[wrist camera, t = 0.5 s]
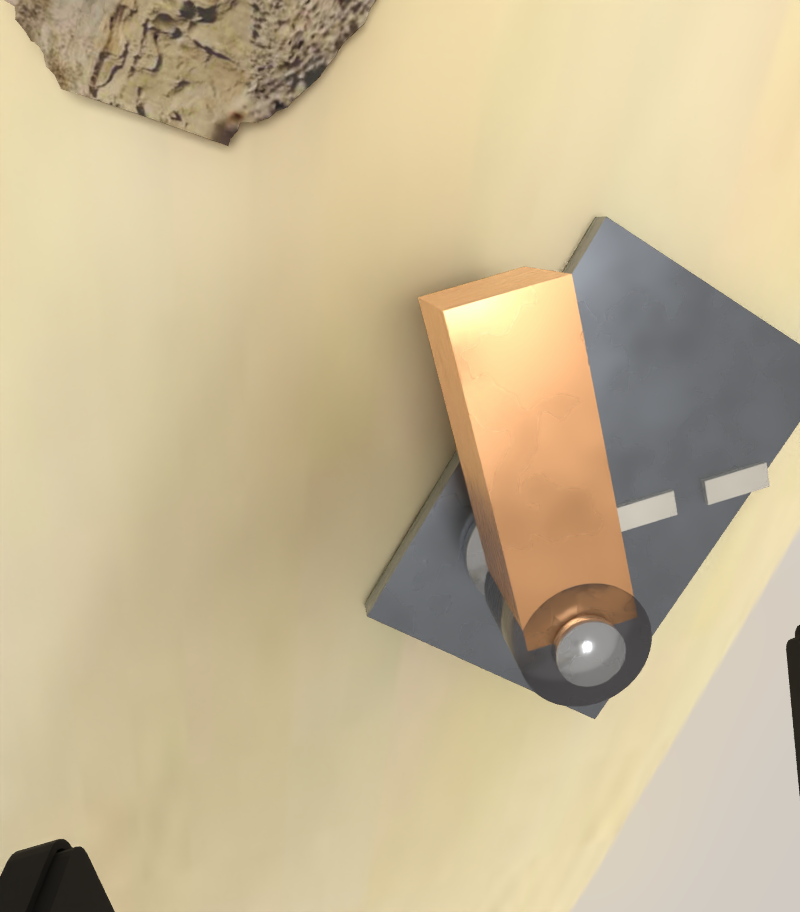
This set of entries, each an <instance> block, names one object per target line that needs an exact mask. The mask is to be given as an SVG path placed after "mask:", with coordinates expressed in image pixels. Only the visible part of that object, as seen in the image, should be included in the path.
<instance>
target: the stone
mask: <svg viewBox="0 0 800 912" xmlns="http://www.w3.org/2000/svg"><path fill="white" fill-rule="evenodd" d="M5 1H6V2H8V3H10V4H12V5H14V6H15V11H16V18H15V20H16V21H17V22H18V23H19V24H20V25H21V26H22V28H23V29H24V30H25V31H26V33H27V35H28V36H29V38H30V40H31V41H32V42H35V43H36V44H37V45H38V46H39V47H40V48H41V50H42V51H43V53H44V57H45V62H46V66H47V67H48V68H49V69H50V71H51V72H52V73H53V74H54V75H55V76H56V78H57V81H58V83H59V85H60V87H61V89H64V90H67V91H70V92H74V93H77V94H80V95H83V96H86V97H89V98H92V99H95V100H98V101H101V102H104V103H107V104H110V105H113V106H116V107H119V108H122V109H125V110H128V111H131V112H134V113H137V114H140V115H143V116H145V117H148V118H151V119H154V120H157V121H160V122H162V123H165V124H168V125H171V126H174V127H176V128H179V129H182V130H185V131H188V132H191V133H193V134H196V135H199V136H202V137H205V138H207V139H210V140H213V141H216V142H219V143H222V144H224V145H227V146H228V145H229V142H230V139H231V138H232V136H233V135H234V134H235V133H236V132H237V131H238V128H239V125H240V122H254V123H255V122H258V121H261V120H264V119H267V118H269V117H270V116H272V115H273V114H274V113H275V112H276V111H279V110H281V109H284V108H286V107H288V106H289V105H290V103H291V102H292V101H293V100H294V99H295V98H297V97H298V96H299V95H300V94H301V93H302V92H303V91H304V90H305V89H306V88H308V87H309V86H310V85H311V84H312V83H313V82H314V81H315V80H316V79H317V78H319V77H320V75H321V73H322V72H323V71H324V69H325V68H326V67H327V65H328V64H329V63H330V62H331V61H332V60H333V59H334V57H335V56H336V54H337V52H338V50H339V49H340V47H341V46H342V44H343V43H344V42H345V41H346V40H347V38H348V37H349V36H352V35H353V34H354V33H355V32H356V31H357V30H358V28H360V27H361V26H362V25H363V24H364V23H365V21H366V18H367V16H368V13H369V10H370V8H371V6H372V5H373V4H374V2H375V1H376V0H5Z"/></svg>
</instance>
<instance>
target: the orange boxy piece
mask: <svg viewBox="0 0 800 912" xmlns="http://www.w3.org/2000/svg"><path fill="white" fill-rule="evenodd" d="M418 299H419V303H420V307H421V311H422V315H423V319H424V323H425V327H426V331H427V334H428V338H429V342H430V346H431V350H432V354H433V358H434V362H435V366H436V369H437V373H438V377H439V381H440V385H441V389H442V393H443V397H444V401H445V404H446V408H447V412H448V416H449V420H450V424H451V428H452V432H453V436H454V439H455V443H456V447H457V451H458V455H459V459H460V463H461V467H462V471H463V474H464V478H465V482H466V486H467V490H468V494H469V498H470V502H471V506H472V509H473V513H474V517H475V521H476V525H477V529H478V533H479V537H480V541H481V544H482V548H483V552H484V556H485V560H486V564H487V568H488V570H487V573H486V577H485V584H484V593H485V599H486V602H487V605H488V608H489V610H490V612H491V614H492V616H493V618H494V620H495V621H496V623H497V625H498V627H499V629H500V631H501V633H502V635H503V637H504V639H505V641H506V643H507V645H508V647H509V649H510V651H511V653H512V655H513V657H514V659H515V661H516V663H517V665H518V667H519V669H520V671H521V673H522V675H523V677H524V679H525V681H526V682H527V683H528V685H529V686H530V688H531V689H532V690H533V691H534V692H535V693H537V694H538V695H539V696H541V697H542V698H544V699H546V700H548V701H550V702H553V703H555V704H559V705H563V706H572V707H575V706H587V705H592V704H596V703H599V702H602V701H605V700H607V699H609V698H611V697H613V696H615V695H616V694H618V693H619V692H621V691H622V690H623V689H625V688H626V687H627V686H628V685H629V684H630V683H631V682H632V681H633V680H634V679H635V678H636V677H637V675H638V674H639V673H640V671H641V670H642V668H643V666H644V664H645V662H646V660H647V658H648V655H649V652H650V647H651V641H652V632H651V625H650V621H649V618H648V615H647V613H646V611H645V609H644V608H643V606H642V605H641V604H640V603H639V601H638V600H637V599H636V598H635V597H634V595H633V590H632V585H631V580H630V575H629V569H628V564H627V559H626V554H625V549H624V543H623V538H622V533H621V528H620V523H619V517H618V512H617V507H616V502H615V496H614V491H613V486H612V481H611V476H610V470H609V465H608V460H607V455H606V450H605V444H604V439H603V434H602V429H601V424H600V418H599V413H598V408H597V403H596V398H595V392H594V387H593V382H592V377H591V372H590V366H589V361H588V356H587V351H586V345H585V340H584V335H583V330H582V325H581V319H580V314H579V309H578V304H577V299H576V293H575V288H574V283H573V278H572V274H569V273H563V272H556V271H550V270H543V269H536V268H530V267H521V268H518V269H514V270H511V271H507V272H504V273H500V274H497V275H493V276H490V277H487V278H483V279H480V280H476V281H473V282H469V283H466V284H462V285H459V286H455V287H452V288H449V289H445V290H442V291H438V292H435V293H431V294H428V295H424V296H421V297H418Z"/></svg>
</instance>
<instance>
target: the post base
mask: <svg viewBox="0 0 800 912" xmlns="http://www.w3.org/2000/svg"><path fill="white" fill-rule="evenodd" d="M563 273H569V274H572V278H573V283H574V288H575V293H576V299H577V304H578V309H579V314H580V319H581V325H582V330H583V335H584V340H585V345H586V351H587V356H588V361H589V366H590V372H591V377H592V382H593V387H594V392H595V398H596V403H597V408H598V413H599V418H600V424H601V429H602V434H603V439H604V444H605V450H606V455H607V460H608V465H609V470H610V476H611V481H612V486H613V491H614V496H615V502H616V507H617V512H618V517H619V523H620V528H621V533H622V538H623V543H624V549H625V554H626V559H627V564H628V569H629V575H630V580H631V585H632V590H633V595H634V597H635V598H636V599H637V600H638V601H639V603H640V604H641V605H642V606H643V608H644V609H645V611H646V613H647V615H648V618H649V621H650V625H651V632H652V636H653V634H654V633H655V631H656V630H657V628H658V627H659V625H660V624H661V622H662V621H663V620H664V618H665V617H666V615H667V614H668V612H669V611H670V609H671V608H672V606H673V605H674V604H675V602H676V601H677V599H678V598H679V596H680V595H681V593H682V592H683V590H684V589H685V588H686V586H687V585H688V583H689V582H690V580H691V579H692V577H693V576H694V575H695V573H696V572H697V570H698V569H699V567H700V566H701V564H702V563H703V561H704V560H705V559H706V557H707V556H708V554H709V553H710V551H711V550H712V548H713V547H714V545H715V544H716V543H717V541H718V540H719V538H720V537H721V535H722V534H723V532H724V531H725V529H726V528H727V527H728V525H729V524H730V522H731V521H732V519H733V518H734V516H735V515H736V514H737V512H738V511H739V509H740V508H741V506H742V505H743V503H744V502H745V500H746V499H747V498H748V496H749V495H750V493H751V492H753V491H756V490H759V489H763V488H766V487H769V478H768V470H767V468H768V467H769V466H770V464H771V463H772V461H773V460H774V458H775V457H776V455H777V454H778V453H779V451H780V450H781V448H782V447H783V445H784V444H785V442H786V441H787V439H788V438H789V437H790V435H791V434H792V432H793V431H794V429H795V428H796V426H797V425H798V423H799V422H800V344H798V343H797V342H795V341H794V340H792V339H791V338H789V337H788V336H786V335H785V334H783V333H782V332H780V331H779V330H777V329H775V328H774V327H772V326H771V325H769V324H768V323H766V322H765V321H763V320H762V319H760V318H759V317H757V316H756V315H754V314H753V313H751V312H750V311H748V310H747V309H745V308H744V307H742V306H741V305H739V304H738V303H736V302H735V301H733V300H732V299H730V298H729V297H727V296H726V295H724V294H723V293H721V292H720V291H718V290H716V289H715V288H713V287H712V286H710V285H709V284H707V283H706V282H704V281H703V280H701V279H700V278H698V277H697V276H695V275H694V274H692V273H691V272H689V271H688V270H686V269H685V268H683V267H682V266H680V265H679V264H677V263H676V262H674V261H673V260H671V259H670V258H668V257H667V256H665V255H664V254H662V253H660V252H659V251H657V250H656V249H654V248H653V247H651V246H650V245H648V244H647V243H645V242H644V241H642V240H641V239H639V238H638V237H636V236H635V235H633V234H632V233H630V232H629V231H627V230H626V229H624V228H623V227H621V226H620V225H618V224H617V223H615V222H614V221H612V220H611V219H609V218H608V217H595V219H594V220H593V222H592V224H591V225H590V227H589V229H588V230H587V232H586V234H585V235H584V237H583V239H582V240H581V242H580V244H579V246H578V247H577V249H576V251H575V252H574V254H573V256H572V257H571V259H570V261H569V262H568V264H567V266H566V267H565V269H564V271H563ZM487 570H488V568H487V564H486V560H485V556H484V552H483V548H482V544H481V541H480V537H479V533H478V529H477V525H476V521H475V517H474V513H473V509H472V506H471V502H470V498H469V494H468V490H467V486H466V482H465V478H464V474H463V471H462V467H461V463H460V459H459V455H458V451H457V450H456V452H455V454H454V455H453V457H452V459H451V460H450V462H449V464H448V465H447V467H446V469H445V470H444V472H443V474H442V475H441V477H440V479H439V480H438V482H437V484H436V485H435V487H434V489H433V491H432V492H431V494H430V496H429V497H428V499H427V501H426V502H425V504H424V506H423V507H422V509H421V511H420V512H419V514H418V516H417V517H416V519H415V521H414V522H413V524H412V526H411V527H410V529H409V531H408V532H407V534H406V536H405V537H404V539H403V541H402V543H401V544H400V546H399V548H398V549H397V551H396V553H395V554H394V556H393V558H392V559H391V561H390V563H389V564H388V566H387V568H386V569H385V571H384V573H383V574H382V576H381V578H380V579H379V581H378V583H377V584H376V586H375V588H374V590H373V591H372V593H371V595H370V596H369V598H368V600H367V601H366V603H365V607H366V613H367V616H368V617H370V618H372V619H375V620H377V621H379V622H381V623H383V624H386V625H388V626H390V627H392V628H394V629H397V630H399V631H401V632H403V633H405V634H408V635H410V636H412V637H414V638H417V639H419V640H421V641H423V642H425V643H428V644H430V645H432V646H434V647H436V648H439V649H441V650H443V651H445V652H448V653H450V654H452V655H454V656H456V657H459V658H461V659H463V660H465V661H467V662H470V663H472V664H474V665H476V666H478V667H481V668H483V669H485V670H487V671H490V672H492V673H494V674H496V675H498V676H501V677H503V678H505V679H507V680H509V681H512V682H514V683H516V684H518V685H521V686H523V687H525V688H527V689H529V690H532V689H531V688H530V686H529V685H528V683H527V682H526V681H525V679H524V677H523V675H522V673H521V671H520V669H519V667H518V665H517V663H516V661H515V659H514V657H513V655H512V653H511V651H510V649H509V647H508V645H507V643H506V641H505V639H504V637H503V635H502V633H501V631H500V629H499V627H498V625H497V623H496V621H495V620H494V618H493V616H492V614H491V612H490V610H489V608H488V605H487V602H486V599H485V593H484V584H485V577H486V573H487ZM532 691H533V690H532ZM607 701H608V699H607V700H605V701H602V702H599V703H596V704H592V705H587V706H575V707H572V706H567V707H569V708H571V709H574V710H576V711H578V712H580V713H582V714H585V715H587V716H589V717H591V718H594V719H595V718H596V717H597V715H598V714H599V712H600V711H601V710H602V708H603V707H604V705H605V704H606V702H607Z"/></svg>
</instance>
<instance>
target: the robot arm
mask: <svg viewBox="0 0 800 912" xmlns="http://www.w3.org/2000/svg"><path fill="white" fill-rule="evenodd" d="M786 652H787V663H788V674H789V685H790V695H791V707H792V717H793V728H794V739H795V749H796V761H797V772H798V783H799V794H800V625H799V626H797V628H796V631H795V638H793V639H790V640H789V641H788V642H787V646H786ZM0 912H114V909H113V907H112V905H111V903H110V901H109V899H108V897H107V895H106V893H105V890H104V888H103V886H102V884H101V882H100V880H99V878H98V876H97V874H96V871H95V869H94V867H93V865H92V863H91V861H90V859H89V857H88V854H87V853H86V851H85V850H84V849H83V848H82V847H74V848H72V847H71V845H70V844H69V842H67V841H66V840H64V839H58V840H54V841H51V842H47V843H44V844H41V845H37V846H34V847H30V848H27V849H23V850H20V851H17V852H15V853H14V854H12V855H11V857H10V858H9V860H8V861H7V863H6V865H5V868H4V870H3V872H2V874H1V876H0Z"/></svg>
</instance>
